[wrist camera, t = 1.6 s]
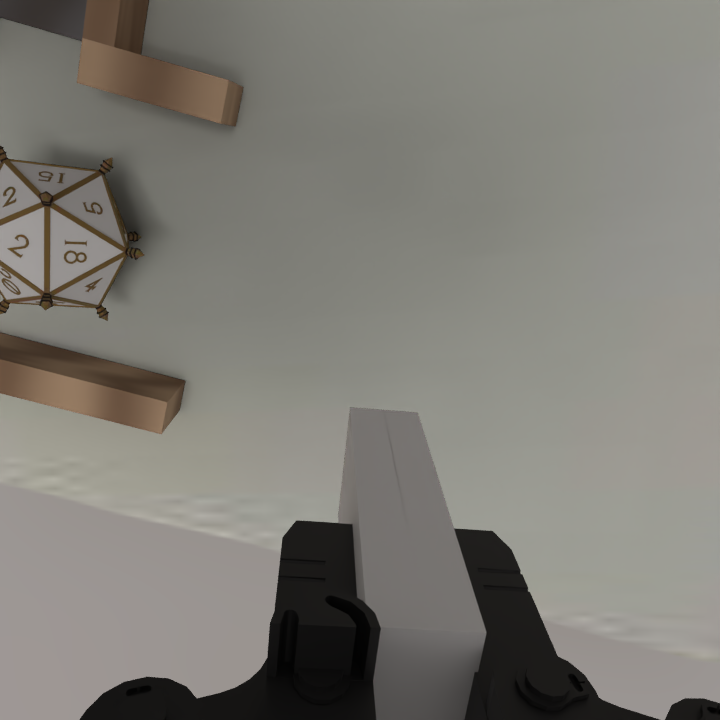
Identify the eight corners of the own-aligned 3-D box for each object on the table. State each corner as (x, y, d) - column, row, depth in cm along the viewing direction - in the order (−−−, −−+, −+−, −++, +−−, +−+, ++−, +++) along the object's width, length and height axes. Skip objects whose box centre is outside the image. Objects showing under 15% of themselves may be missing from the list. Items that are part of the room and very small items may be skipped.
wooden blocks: (261, -6, 32) (246, -28, 28) (179, 410, 39) (157, 438, 36) (-98, -113, 31) (-165, -151, 27) (-116, 334, 38) (-172, 355, 35)
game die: (138, 244, 40) (138, 371, 34) (-17, 230, 37) (-47, 367, 31) (147, 116, 34) (148, 246, 28) (-41, 86, 31) (-84, 225, 25)
